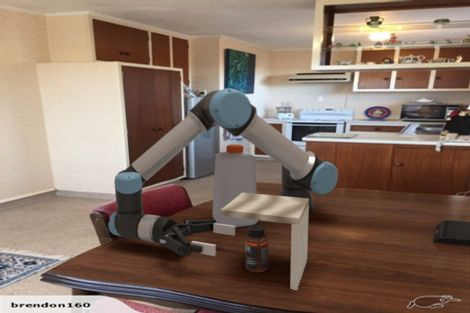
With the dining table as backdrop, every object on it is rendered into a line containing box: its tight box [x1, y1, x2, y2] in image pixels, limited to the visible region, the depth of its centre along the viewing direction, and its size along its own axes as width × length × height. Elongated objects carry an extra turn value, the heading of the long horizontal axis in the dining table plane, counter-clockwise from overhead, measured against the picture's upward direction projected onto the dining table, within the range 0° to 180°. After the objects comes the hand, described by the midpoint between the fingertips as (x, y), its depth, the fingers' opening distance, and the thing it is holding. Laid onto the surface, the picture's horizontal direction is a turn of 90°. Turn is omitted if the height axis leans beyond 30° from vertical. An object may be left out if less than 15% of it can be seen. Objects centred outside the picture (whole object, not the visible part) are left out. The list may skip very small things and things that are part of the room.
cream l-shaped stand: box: [221, 193, 310, 291], centre depth 84 cm, size 19×16×18 cm
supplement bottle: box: [244, 224, 269, 274], centre depth 85 cm, size 6×6×11 cm
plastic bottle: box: [212, 143, 259, 229], centre depth 118 cm, size 15×15×28 cm
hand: (225, 239), depth 87 cm, fingers open, 13 cm apart
